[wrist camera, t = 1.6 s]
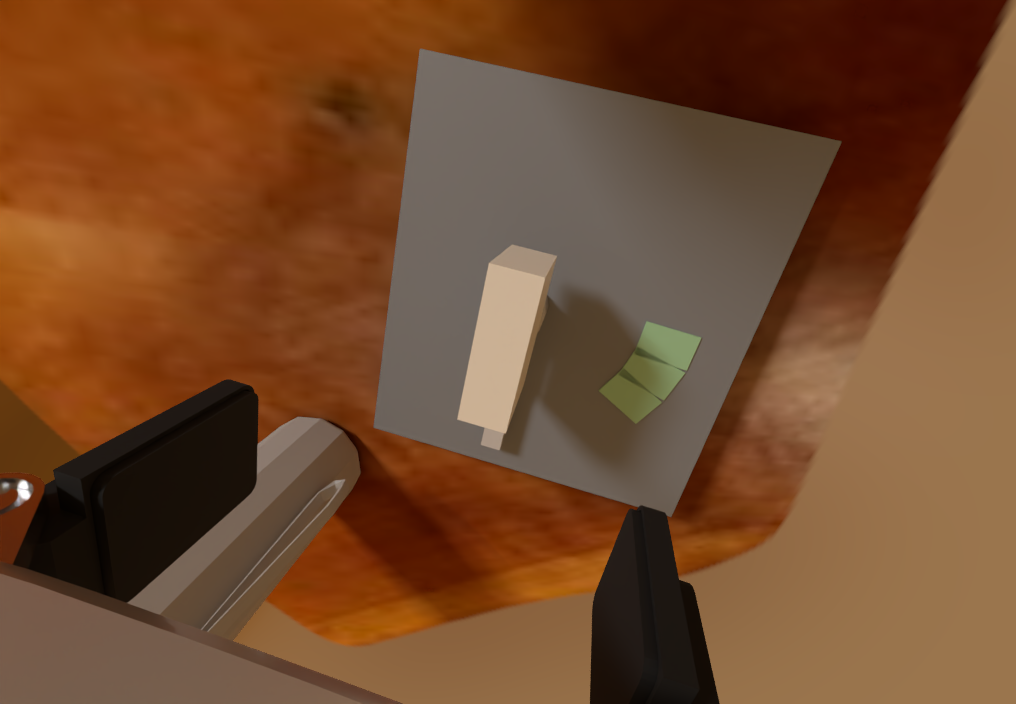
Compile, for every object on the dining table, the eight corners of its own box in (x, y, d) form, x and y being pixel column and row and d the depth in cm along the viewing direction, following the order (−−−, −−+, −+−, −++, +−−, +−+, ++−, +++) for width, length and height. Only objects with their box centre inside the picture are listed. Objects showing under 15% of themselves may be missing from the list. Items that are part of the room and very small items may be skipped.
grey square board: (436, 60, 25) (419, 48, 23) (818, 144, 23) (843, 141, 21) (389, 410, 34) (372, 428, 31) (666, 492, 32) (671, 518, 29)
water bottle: (303, 500, 38) (-148, 993, 15) (262, 415, 36) (-343, 846, 13) (403, 486, 36) (47, 1049, 13) (366, 395, 33) (-151, 880, 10)
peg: (520, 236, 25) (486, 262, 18) (563, 247, 25) (547, 278, 17) (476, 431, 30) (435, 515, 22) (512, 441, 30) (483, 530, 22)
